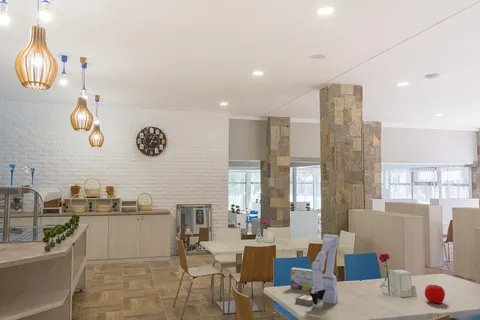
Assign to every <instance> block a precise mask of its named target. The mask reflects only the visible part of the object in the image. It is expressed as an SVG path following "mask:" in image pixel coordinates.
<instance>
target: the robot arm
mask: <svg viewBox="0 0 480 320" xmlns="http://www.w3.org/2000/svg"><path fill="white" fill-rule="evenodd" d="M339 245H340V236H339V235H338V234H337V235H336V234H327V233H324V234H323V235H322V246H321V249H320V252H319V251H318V252H317V253H318V254H317V255H316V258H315V260H314V261H313V262H312V263H311V270H312V272H313V287H312V290H311V291H309V295H311V297H312V300H313V304H315V305H317V302H318V299H320V300H323V303H327V304H333V305H335V304H337V303H339V290H337V286H338V282H337V281H338V279H337V277H336V275H335V274H334V270H335V261H336V254H337V249H339ZM325 262H326V264H325ZM325 265H326V267H325ZM324 270H325V272H324V273H323V271H324Z"/></svg>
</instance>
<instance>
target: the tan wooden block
mask: <svg viewBox="0 0 480 320" xmlns="http://www.w3.org/2000/svg"><path fill="white" fill-rule="evenodd" d="M306 295H307V294H305V295H304V296H301V295H300V296H301V297H299V298H301V299H306V300H312V297H311V296H306Z"/></svg>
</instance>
